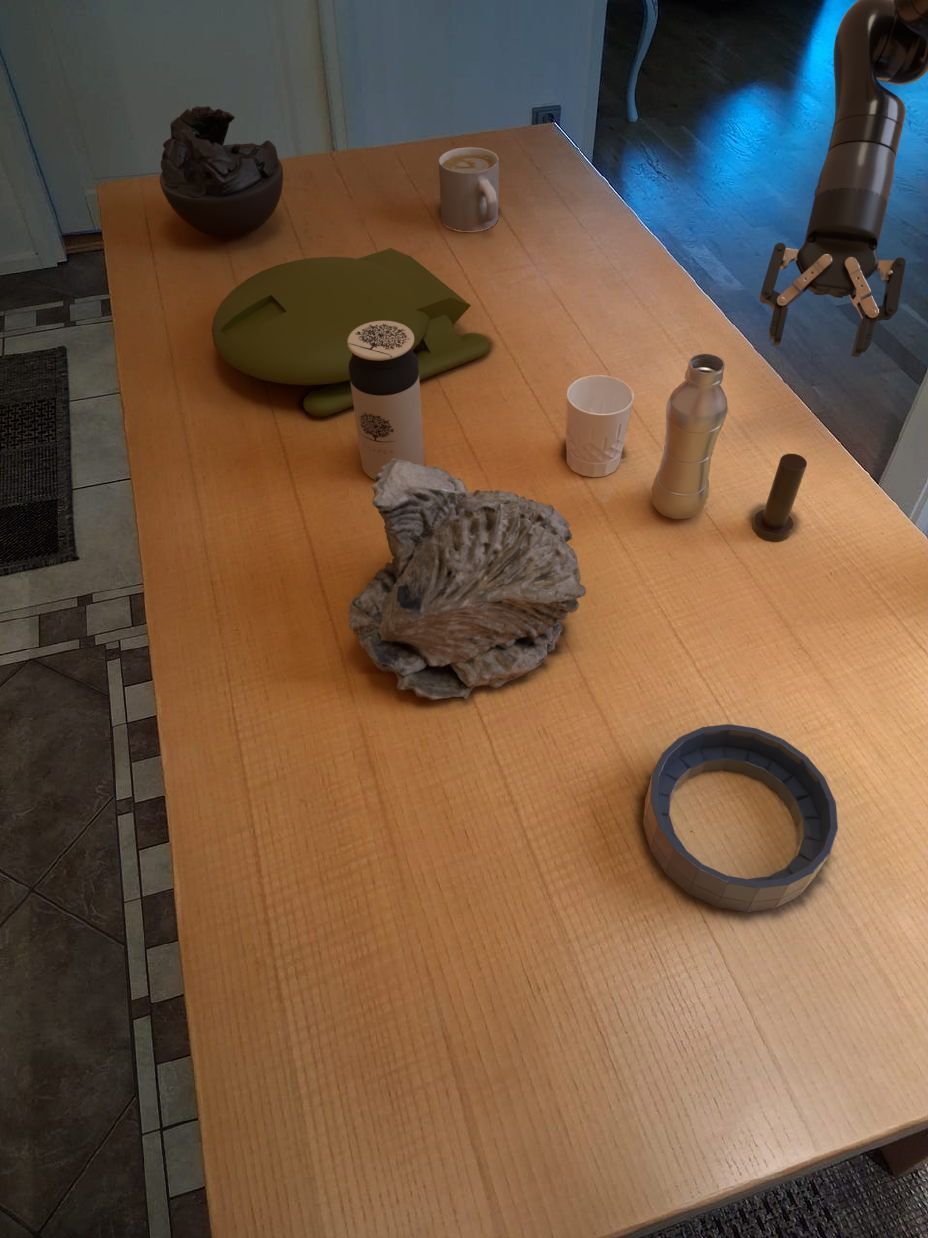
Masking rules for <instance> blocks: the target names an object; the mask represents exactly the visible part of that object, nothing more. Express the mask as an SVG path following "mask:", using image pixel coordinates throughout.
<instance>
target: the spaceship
mask: <svg viewBox="0 0 928 1238" xmlns="http://www.w3.org/2000/svg"><path fill="white" fill-rule="evenodd" d="M470 307H472V305H471V304H470V303H469V302H468V301H466V300H465V299H464V298H463V297H461V296H460V295H459V294H458V293H457V292H455V291H454V290H453V289H452V288H450V287H449V286H448V285H447V284H445V283H444V282H443V281H442V280H441V279H439V278H438V277H437V276H436V275H435V274H434V273H432V272H431V271H430V270H428V269H427V268H426V267H424V266H423V265H422V264H421V263H420V262H419V261H417V260H416V259H415V258H414V257H412V256H411V255H408V254H406V253H403V252H402V251H399V250H396V249H395V248H391V247H390V248H386V249H383V250H381V251H377V252H374V253H370V254H368V255H365V256H362V257H359V258H355V257H347V256H321V257H320V256H319V257H309V258H302V259H297V260H293V261H287V262H284V263H281V264H277V265H274V266H272V267H269V268H266V269H264V270H261V271H259V272H258V273H256V274H254V275H252V276H250V277H248V278H247V279H245V280H244V281H243V282H241V283H240V284H239V285H237V286H236V287H234V288H233V289H232V290H231V291H230V293H228V295H226V297H224V298H223V300H222V301H221V302H220V304H219V306H218V307H217V309H216V311H215V313H214V317H213V320H212V325H211V329H210V330H211V335H212V342H213V345H214V347H215V349H216V350H217V352H218V354H219V356H220V357H221V358H222V360H223V359H224V361H226V362H227V363H228V364H229V365H230V366H231V367H233V368H234V369H236V370H237V371H240V372H241V373H243V374H245V375H248V376H251V377H254V378H256V379H259V380H261V381H266V382H273V383H276V384H277V383H278V384H283V385H296V386H297V385H298V386H301V385H302V386H314V385H326V386H323V387H320V388H318V389H315V390H313V391H310V392H309V393H308V394H307V395H306V396H305V397H304V398H303V402H302V404H303V408H304V411H306V412H307V413H308V414H309V415H311V416H314V417H317V418H325V417H329V416H332V415H334V414H336V413H340V412H342V411H344V410H346V409H347V410H348V409H350V408H353V407H354V404H353V397H352V389H351V382H350V375H349V367H348V365H349V361H350V359H351V357H352V355H353V354H352V352H351V351H350V349H349V347H348V344H347V340H348V337H349V335H350V333H351V332H352V331H353V330H354V329H356V328H357V327H359V326H361V325H363V324H366V323H370V322H374V321H393V322H397V323H400V324H403V325H405V326H406V327H408V328H409V329H410V330H411V331H412V333H413V335H414V344H413V346H412V349H411V350H412V351H413V350H414V349H416V348H417V346H418V345H419V344H420V343H421V344H422V345H423V347H424V349H422V350H420V351H417V352H414V354H415V355H416V357H417V359H418V368H419V382H420V381H422V380H425V379H428V378H431V377H433V376H436V375H438V374H441V373H443V372H446V371H448V370H451V369H453V368H457V367H459V366H461V365H464V364H466V363H467V364H468V363H469V362H471V361H474V360H476V359H479V358H482V357H483V356H486V355H487V354H488V352H489V351H490V350H491V349H490V348H491V343H490V341H489V339H488V338H487V337H486V336H485V335H482V334H480V333H474V332H473V333H472V332H471V333H466V334H465V333H464V334H463V335H461V336H460V335H459V333H458V331H457V330H456V328H455V324H456V323H457V322H458V321H459V320H460V318H462V316H463V315H464V314H465V313H466V312H467V311H468V309H470Z"/></svg>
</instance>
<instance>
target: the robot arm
mask: <svg viewBox="0 0 928 1238" xmlns="http://www.w3.org/2000/svg"><path fill="white" fill-rule="evenodd" d="M927 73H928V0H856V2H855V3H853V4H852V5H851V6H850V7H849V9H848V10H847V11H846V12H845V14H844V15H843V17H842V19H841V21H840V23H839V26H838V27H837V31H836V35H835V39H834V44H833V77H834V107H835V109H834V110H835V111H834V112H835V113H834V120H833V121H834V122H833V125H832V130H831V135H830V140H829V143H828V147H827V152H826V156H825V159H824V162H823V165H822V168H821V170H820V172H819V176H818V181H817V186H816V188H815V190H814V195H813V196H814V198H813V203H812V207H811V212H810V216H809V221H808V225H807V230H806V233H805V238H804V242H803V244H802V246H801V247H800V248H799V249H797V248H790V247H787V246H786V244H785V243H784V242H777V243H775V245H774V247H773V250H772V253H771V256H770V259H769V263H768V266H767V270H766V274H765V277H764V280H763V284H762V287H761V291H760V295H759V298H758V299H759V302H760V303H761V304H764V305H765V304H766V305H768V306H770V307H771V309H772V316H771V320H770V325H769V329H768V333H767V334H768V339H770V340H772V345H774V346H780V344H781V342H782V338H783V333H784V329H785V325H786V321H787V316H788V311H789V306H790V305H792V304H793V302H795V300H797V299H799V298H800V297H801V296H802V295H803V294H804V293H805V292H807V291H808V290H809V291H810V292H811V293H812V295H814V296H815V295H816V296H825V295H828V296H831V297H833V298H839V299H843V297H847V296H848V297H849V299H850V301H851V304H852V305H853V307H855V308H856V310H857V312H858V314H859V316H860V319H861V320H860V322H858V325H857V330H856V334H855V339H854V343H853V347H852V351H851V357H854V358H859V357H860V356H861V355H862V353H866V352H867V350H868V349H869V347H870V346H871V344H872V338H873V334H874V330H875V326H876V323H877V322H878V321H879V322H880V321H889V320H891V319H892V318H893V316H894V315H895V314H896V313H897V312H898V310H899V307H900V306H899V305H900V299H901V294H902V287H903V282H904V277H905V272H906V271H905V270H906V265H907V261H906V259H905V258H903V257H897V258H896V259H895V260H893V259H892V260H890V259H879V257H878V246H879V241H880V236H881V233H882V229H883V226H884V225H883V224H884V220H885V216H886V211H887V209H888V208H887V207H888V203H889V199H890V196H891V195H890V194H891V190H892V187H893V181H894V175H895V174H894V173H895V165H896V164H895V163H896V158H897V154H898V151H899V146H900V142H901V141H900V140H901V137H902V133H903V132H902V131H903V128H904V124H905V119H906V106H905V103H904V101H903V100H902V99H901V97H899V96H898V95H896V94H895V93H893V92H892V91H891V90H889V89H887V88H886V87H884V86H883V85H882V84H881V83H880V82H882V83H886V84H891V85H895V86H905V85H909V84H912V83H914V82H917V81H918V80H920V79H921V78H923V77H924V76H925V75H926V74H927ZM792 262H795V265H796V266H797V267H796V268H797V269H798V270H799V273H800V276H798V277H797V278H796V279H795V280H794V281H793V282H792V283H791V284H790V286H788V287H787V288H786V289H785V290H784V291H782V293H780V292H778V291H776V290H775V287H776V284H777V280H778V277H779V273H780V270H785V269H786V268H788V266H789V264H790V263H792ZM875 272H877V273H879V275H880V280H881V281H882V282H883V283H885V287H884V292H883V293H884V294H883V300H882V305H878V306H877V303H876V301H875V299H874V297H873V293H872V290H871V288H870V286H869V284H868V281H867V280H868V279H869V278H870V277H871V276H872V275H873V274H874V273H875Z"/></svg>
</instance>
